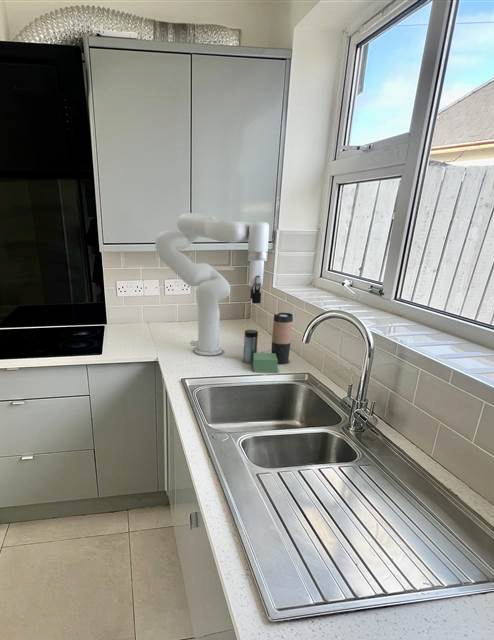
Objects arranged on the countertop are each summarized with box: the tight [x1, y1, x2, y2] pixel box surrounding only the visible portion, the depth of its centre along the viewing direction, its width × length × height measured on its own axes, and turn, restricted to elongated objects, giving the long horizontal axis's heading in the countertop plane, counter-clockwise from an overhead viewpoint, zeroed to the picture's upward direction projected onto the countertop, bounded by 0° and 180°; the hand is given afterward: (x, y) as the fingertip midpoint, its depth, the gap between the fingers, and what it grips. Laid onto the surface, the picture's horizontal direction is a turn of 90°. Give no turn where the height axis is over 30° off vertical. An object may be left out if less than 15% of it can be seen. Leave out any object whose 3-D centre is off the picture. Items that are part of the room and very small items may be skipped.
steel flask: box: [242, 329, 259, 364], centre depth 169 cm, size 5×5×13 cm
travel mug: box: [270, 312, 294, 365], centre depth 168 cm, size 8×8×20 cm
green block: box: [252, 352, 279, 373], centre depth 163 cm, size 9×9×5 cm
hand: (255, 300), depth 163 cm, fingers open, 9 cm apart
